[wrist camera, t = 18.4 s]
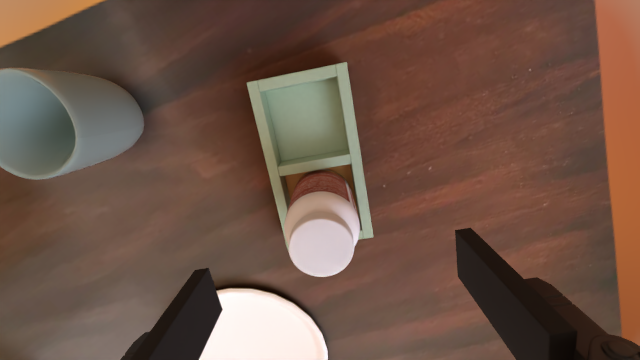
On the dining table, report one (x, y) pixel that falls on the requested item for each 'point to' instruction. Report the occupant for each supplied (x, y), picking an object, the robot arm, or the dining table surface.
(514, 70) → the dining table surface
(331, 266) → the pill bottle
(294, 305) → the plate
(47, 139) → the cup
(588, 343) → the robot arm
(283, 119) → the holder
